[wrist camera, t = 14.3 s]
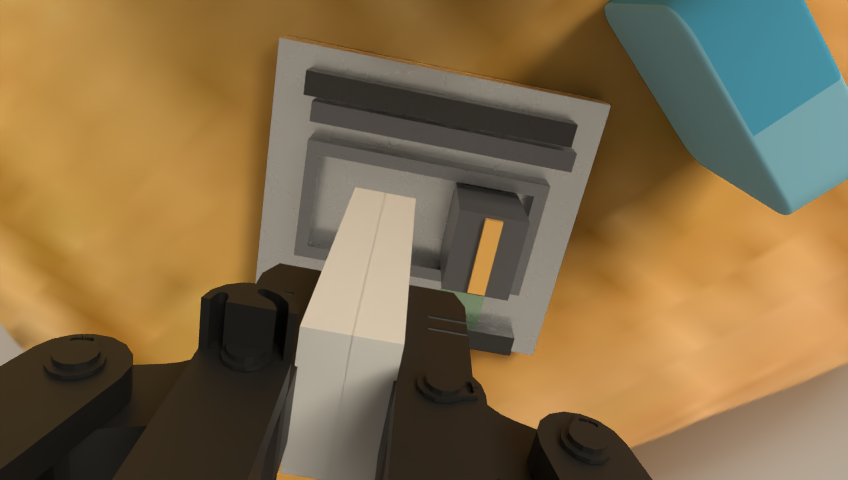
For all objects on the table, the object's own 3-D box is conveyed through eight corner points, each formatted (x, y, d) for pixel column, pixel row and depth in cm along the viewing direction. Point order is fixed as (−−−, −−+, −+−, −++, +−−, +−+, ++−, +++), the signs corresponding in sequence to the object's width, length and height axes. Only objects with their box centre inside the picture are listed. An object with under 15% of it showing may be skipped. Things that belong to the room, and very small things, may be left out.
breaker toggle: (456, 182, 37) (460, 211, 32) (517, 194, 38) (530, 224, 33) (440, 254, 39) (441, 291, 34) (498, 265, 39) (508, 303, 34)
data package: (756, 118, 38) (891, 170, 27) (692, 161, 39) (797, 227, 28) (663, -46, 34) (774, -66, 23) (596, 5, 35) (672, 10, 24)
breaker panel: (287, 35, 36) (272, 39, 33) (602, 100, 37) (618, 110, 34) (260, 292, 43) (246, 317, 40) (528, 340, 44) (536, 368, 41)
